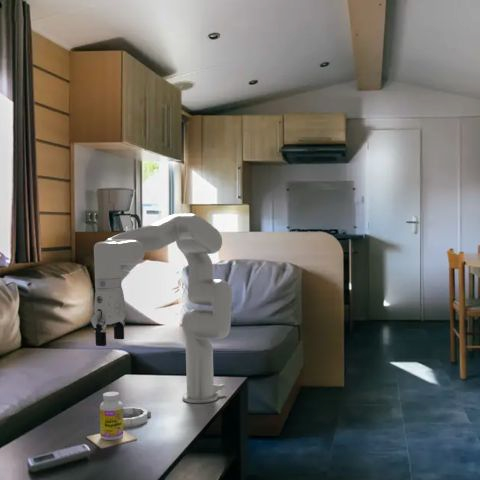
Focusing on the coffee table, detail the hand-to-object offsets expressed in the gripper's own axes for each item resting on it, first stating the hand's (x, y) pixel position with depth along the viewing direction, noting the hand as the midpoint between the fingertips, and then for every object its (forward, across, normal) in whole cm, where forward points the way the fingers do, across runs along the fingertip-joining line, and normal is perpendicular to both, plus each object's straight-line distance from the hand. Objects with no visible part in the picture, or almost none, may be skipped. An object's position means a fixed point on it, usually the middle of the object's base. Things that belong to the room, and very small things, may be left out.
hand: (110, 342), depth 186 cm
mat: (+28, -1, 0) cm, 28 cm away
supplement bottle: (+28, -1, 0) cm, 28 cm away
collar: (+28, +14, +4) cm, 32 cm away
